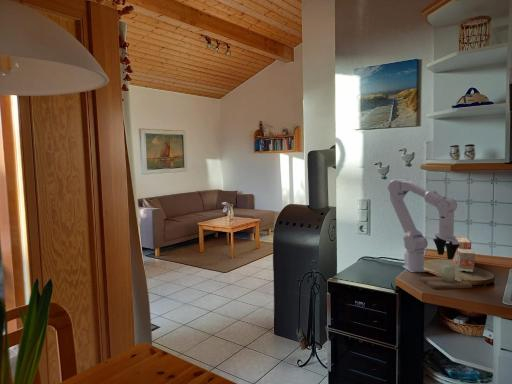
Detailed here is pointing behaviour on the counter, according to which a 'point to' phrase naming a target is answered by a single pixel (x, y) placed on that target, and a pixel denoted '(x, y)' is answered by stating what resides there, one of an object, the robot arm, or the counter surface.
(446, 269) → the cylinder
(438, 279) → the board
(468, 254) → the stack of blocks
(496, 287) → the counter surface
